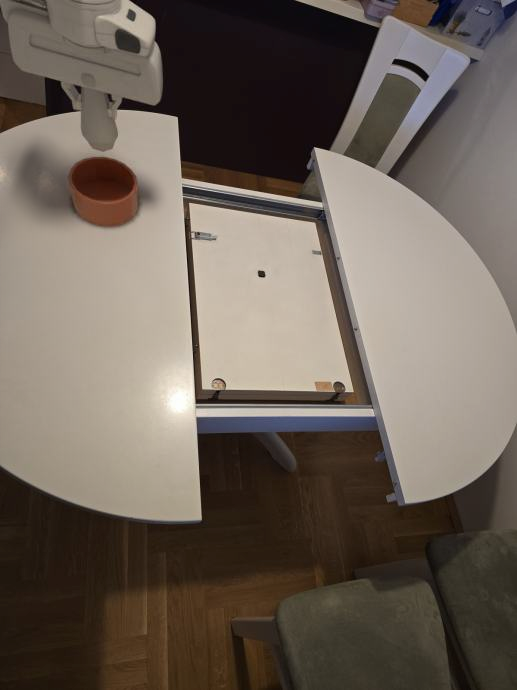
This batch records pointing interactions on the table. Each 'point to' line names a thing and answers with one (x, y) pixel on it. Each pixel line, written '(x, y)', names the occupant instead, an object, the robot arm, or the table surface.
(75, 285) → the table surface
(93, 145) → the grey rounded piece
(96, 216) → the pot
